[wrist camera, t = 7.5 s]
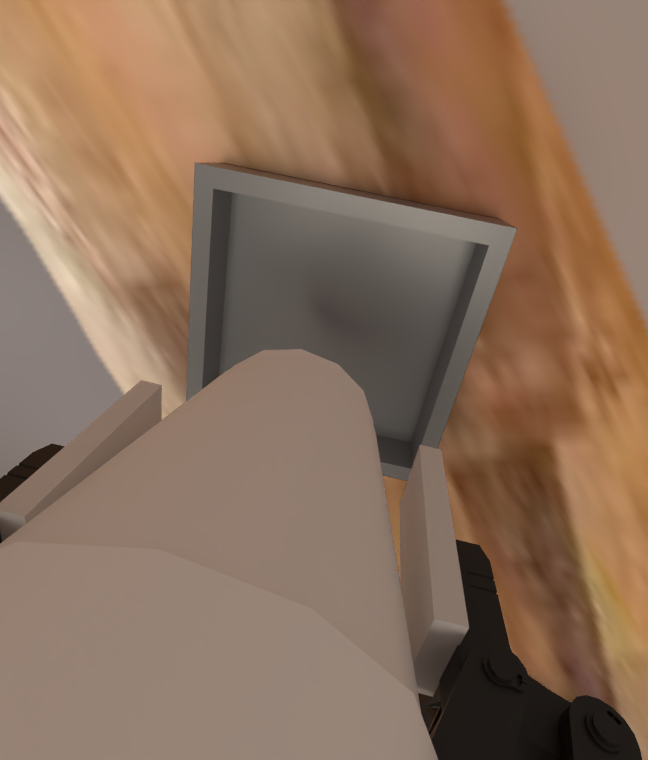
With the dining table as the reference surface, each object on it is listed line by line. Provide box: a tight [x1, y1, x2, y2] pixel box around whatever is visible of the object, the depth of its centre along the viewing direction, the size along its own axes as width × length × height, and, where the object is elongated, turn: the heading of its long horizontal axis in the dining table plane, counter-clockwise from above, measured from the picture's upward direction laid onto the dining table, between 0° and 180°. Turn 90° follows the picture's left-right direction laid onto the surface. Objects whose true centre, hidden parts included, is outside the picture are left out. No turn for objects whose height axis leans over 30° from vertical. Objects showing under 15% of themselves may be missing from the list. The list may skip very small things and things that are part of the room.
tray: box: [186, 163, 517, 481], centre depth 27 cm, size 16×16×4 cm
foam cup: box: [0, 349, 438, 760], centre depth 12 cm, size 10×9×13 cm
